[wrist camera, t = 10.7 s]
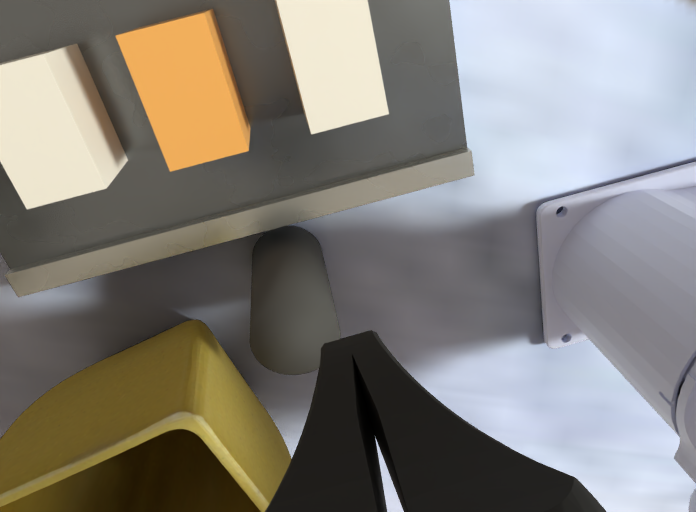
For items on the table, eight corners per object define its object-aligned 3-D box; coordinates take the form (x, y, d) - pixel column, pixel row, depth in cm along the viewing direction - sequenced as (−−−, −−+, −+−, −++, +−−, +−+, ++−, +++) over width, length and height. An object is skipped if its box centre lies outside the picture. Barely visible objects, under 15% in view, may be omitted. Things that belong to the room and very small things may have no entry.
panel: (413, -193, 17) (428, -210, 15) (460, 166, 22) (474, 180, 21) (-156, -50, 16) (-199, -54, 15) (37, 279, 22) (20, 301, 20)
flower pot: (216, 262, 23) (192, 412, 15) (304, 400, 27) (323, 575, 19) (35, 346, 23) (-82, 533, 15) (148, 468, 27) (103, 666, 19)
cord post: (312, 217, 22) (328, 289, 17) (329, 277, 24) (348, 361, 19) (243, 236, 22) (237, 314, 17) (264, 295, 24) (264, 384, 19)
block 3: (347, -26, 18) (362, -28, 15) (371, 96, 19) (388, 113, 17) (272, -7, 17) (274, -6, 15) (304, 113, 19) (311, 134, 17)
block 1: (77, 43, 17) (43, 54, 15) (128, 160, 19) (106, 188, 16) (0, 62, 17) (-47, 77, 15) (59, 178, 19) (27, 209, 16)
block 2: (212, 8, 17) (204, 12, 15) (250, 128, 19) (248, 151, 17) (137, 27, 17) (115, 35, 15) (182, 146, 19) (170, 171, 17)
